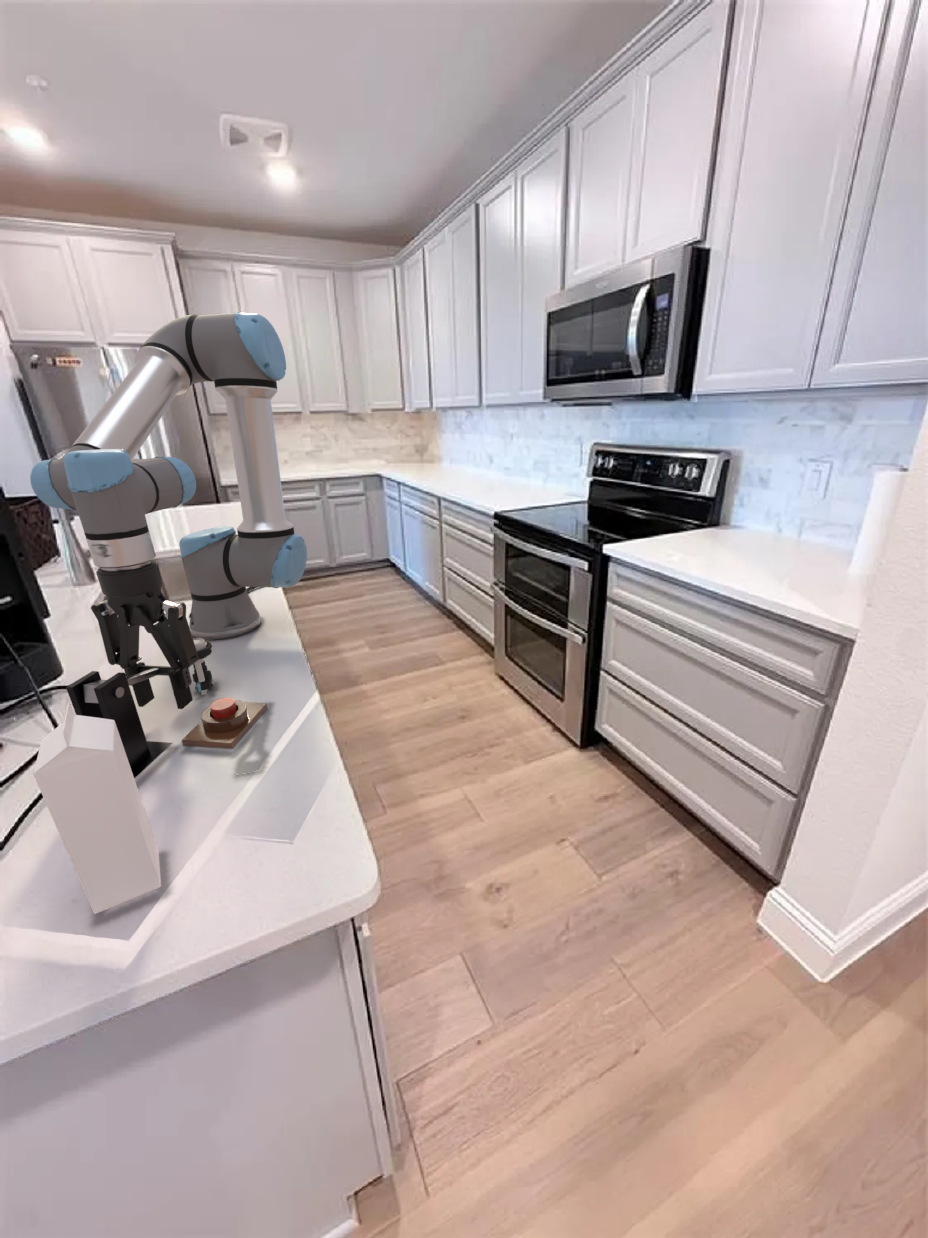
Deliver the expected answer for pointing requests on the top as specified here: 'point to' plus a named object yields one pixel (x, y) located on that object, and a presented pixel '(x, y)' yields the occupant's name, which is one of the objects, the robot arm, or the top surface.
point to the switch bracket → (118, 716)
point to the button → (223, 708)
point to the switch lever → (143, 674)
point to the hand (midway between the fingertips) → (165, 703)
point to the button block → (225, 726)
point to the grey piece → (202, 666)
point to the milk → (98, 810)
